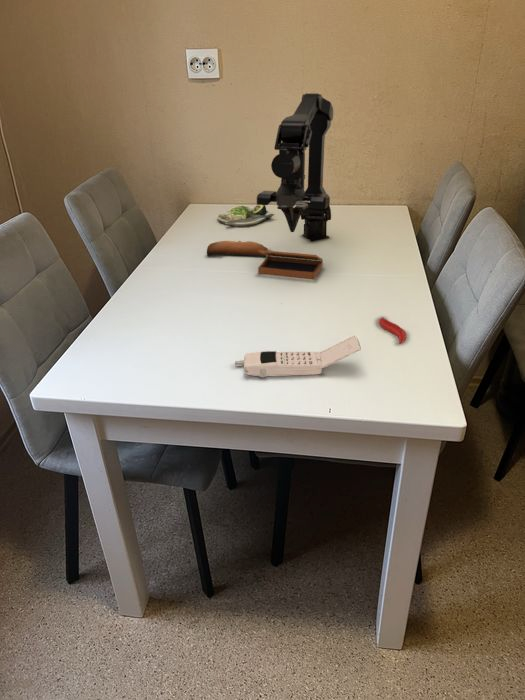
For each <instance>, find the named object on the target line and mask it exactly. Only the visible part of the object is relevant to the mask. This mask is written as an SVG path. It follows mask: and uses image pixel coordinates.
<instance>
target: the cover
mask: <svg viewBox="0 0 525 700" xmlns="http://www.w3.org/2000/svg"><path fill="white" fill-rule="evenodd" d="M258 252H260V253H263V254H265V255H266V257H268V256H273V257H284V258H295V259H306V260H317V261H324V259H323V258H322V257H320V256H319V255H316V254H311V253H299V252H288V251H278V250H277V251H276V250H268V251H266V250H258Z"/></svg>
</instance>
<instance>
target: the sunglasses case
mask: <svg viewBox="0 0 525 700" xmlns="http://www.w3.org/2000/svg"><path fill="white" fill-rule="evenodd" d="M258 250H266V251H269V250H268V247H266V246H264V245H263V244H261V243H258V242H255V241H249V240H248V241H242V240H238V241H236V240H235V241H234V240H221V241H215V242H211V243H209V244H208V246H207V248H206V255H207V256H208V257H209V256H220V255H224V256H225V255H231V256H232V255H234V256H253V257H254V256H255V257H264V258H267V255H265V254H263V253H260V252H258Z"/></svg>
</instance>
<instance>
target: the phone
mask: <svg viewBox="0 0 525 700" xmlns="http://www.w3.org/2000/svg"><path fill="white" fill-rule="evenodd" d="M316 267H317V265H312V264H301V263H291V262H280V261H270V262H269V263H268V264H267V265H266V268H276V269H287V270H297V271H307V272H314V270H315V268H316Z"/></svg>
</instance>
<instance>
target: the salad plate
mask: <svg viewBox="0 0 525 700" xmlns="http://www.w3.org/2000/svg"><path fill="white" fill-rule="evenodd" d="M273 216H275V213H271V211H269V210H267V207H266V205H257V204H256V206H254V207H252V206H247V205H240V206H235V207H233V208H230V209H228V210H225V211H223V212H221V213H219V214H217V216H216V217H217V220H219V221H220V222H221V223H222V224H223V225H227V226H231V227H249V226H254V225H257V224H261V223H263V222H265V221H268V219H270V218H271V217H273Z"/></svg>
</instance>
